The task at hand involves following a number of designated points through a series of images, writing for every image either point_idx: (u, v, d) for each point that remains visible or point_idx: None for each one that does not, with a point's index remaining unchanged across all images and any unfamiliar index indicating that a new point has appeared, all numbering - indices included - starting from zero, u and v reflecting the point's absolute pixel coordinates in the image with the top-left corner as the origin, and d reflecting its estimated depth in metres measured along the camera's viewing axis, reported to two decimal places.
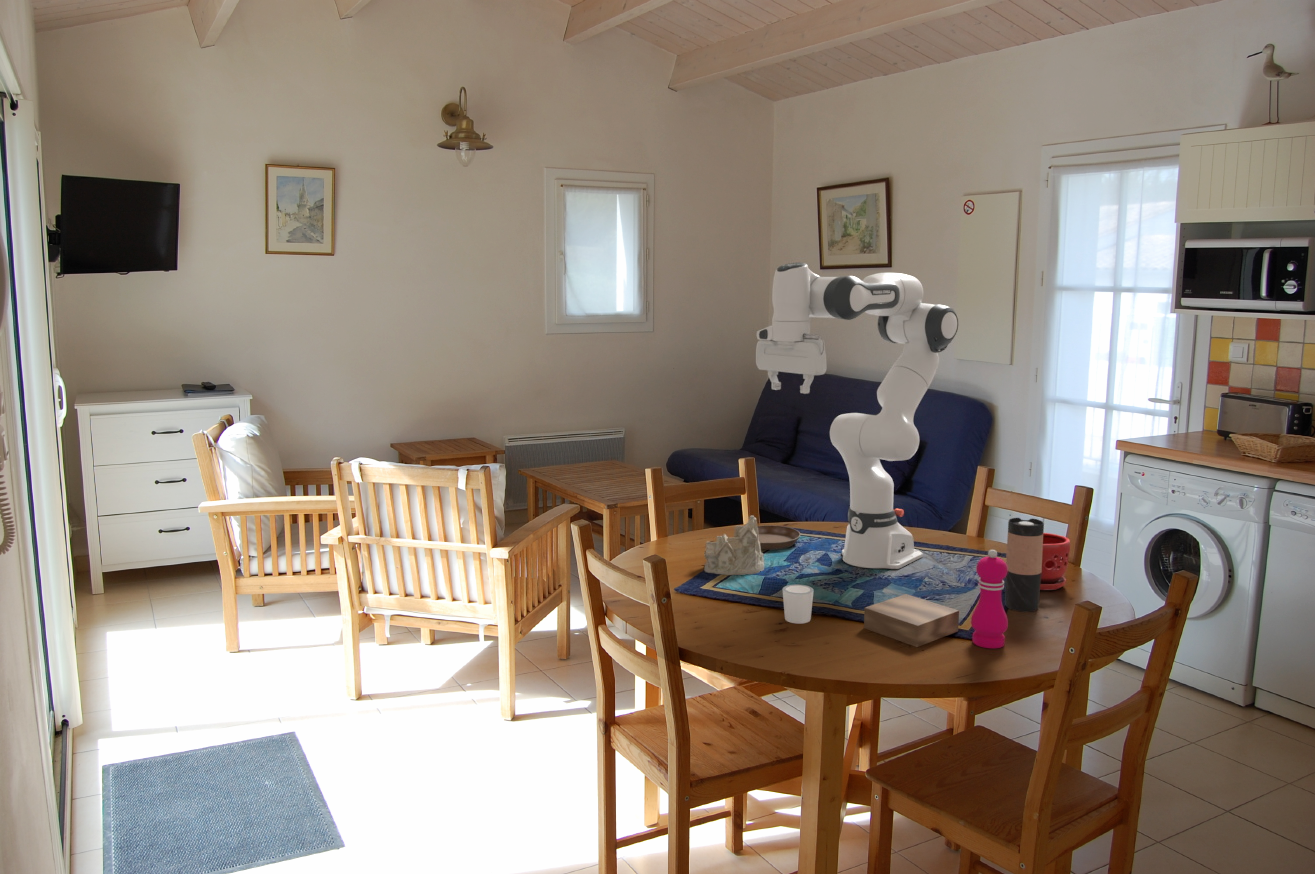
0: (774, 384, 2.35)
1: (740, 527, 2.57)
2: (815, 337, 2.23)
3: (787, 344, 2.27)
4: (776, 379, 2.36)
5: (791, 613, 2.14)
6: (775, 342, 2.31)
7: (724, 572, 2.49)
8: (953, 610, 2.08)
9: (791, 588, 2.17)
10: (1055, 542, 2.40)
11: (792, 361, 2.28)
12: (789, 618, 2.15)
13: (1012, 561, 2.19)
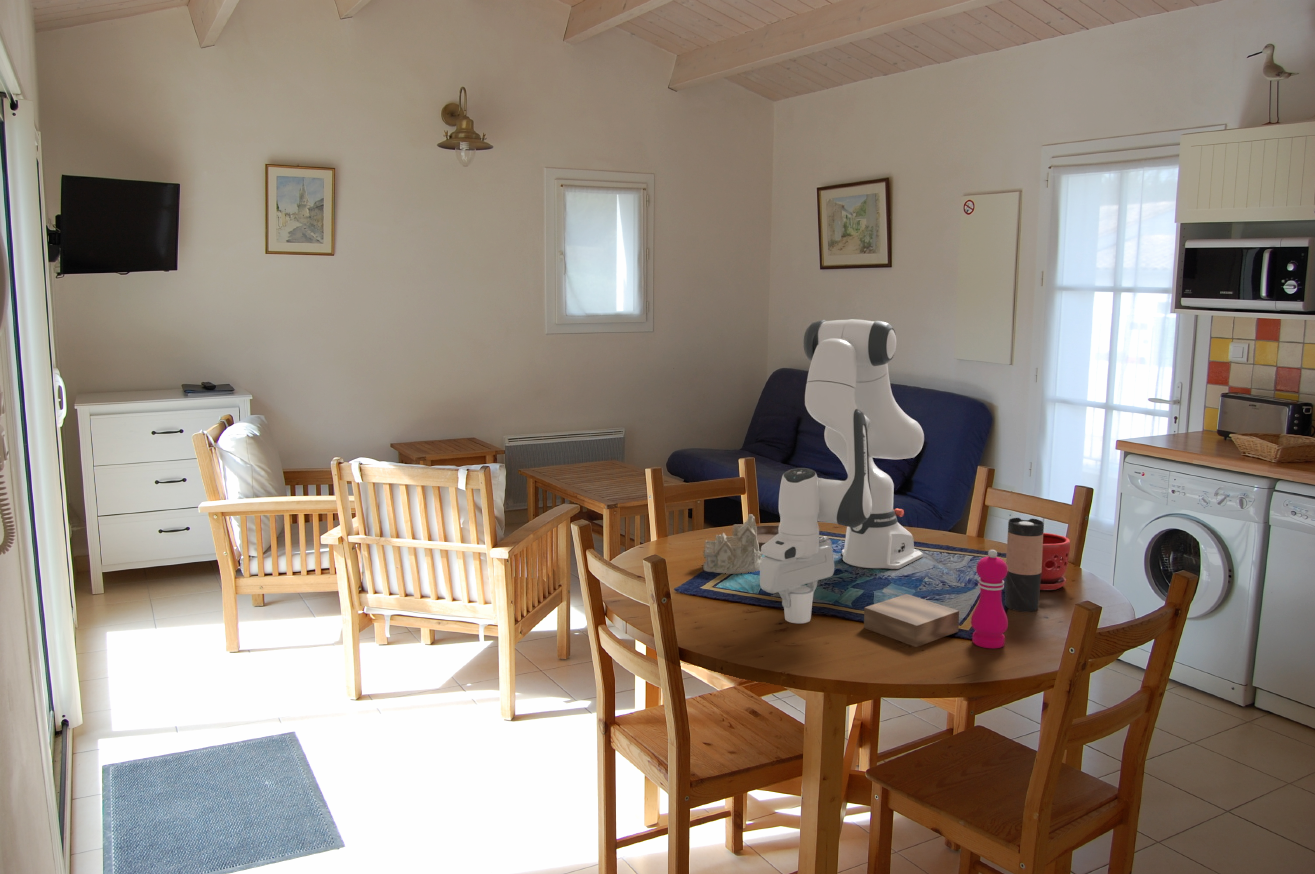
0: None
1: (738, 526, 2.58)
2: (826, 539, 2.19)
3: (812, 555, 2.13)
4: None
5: (791, 612, 2.14)
6: None
7: (724, 571, 2.50)
8: (953, 610, 2.08)
9: (791, 588, 2.17)
10: (1055, 542, 2.40)
11: (811, 570, 2.15)
12: (789, 618, 2.15)
13: (1012, 561, 2.19)
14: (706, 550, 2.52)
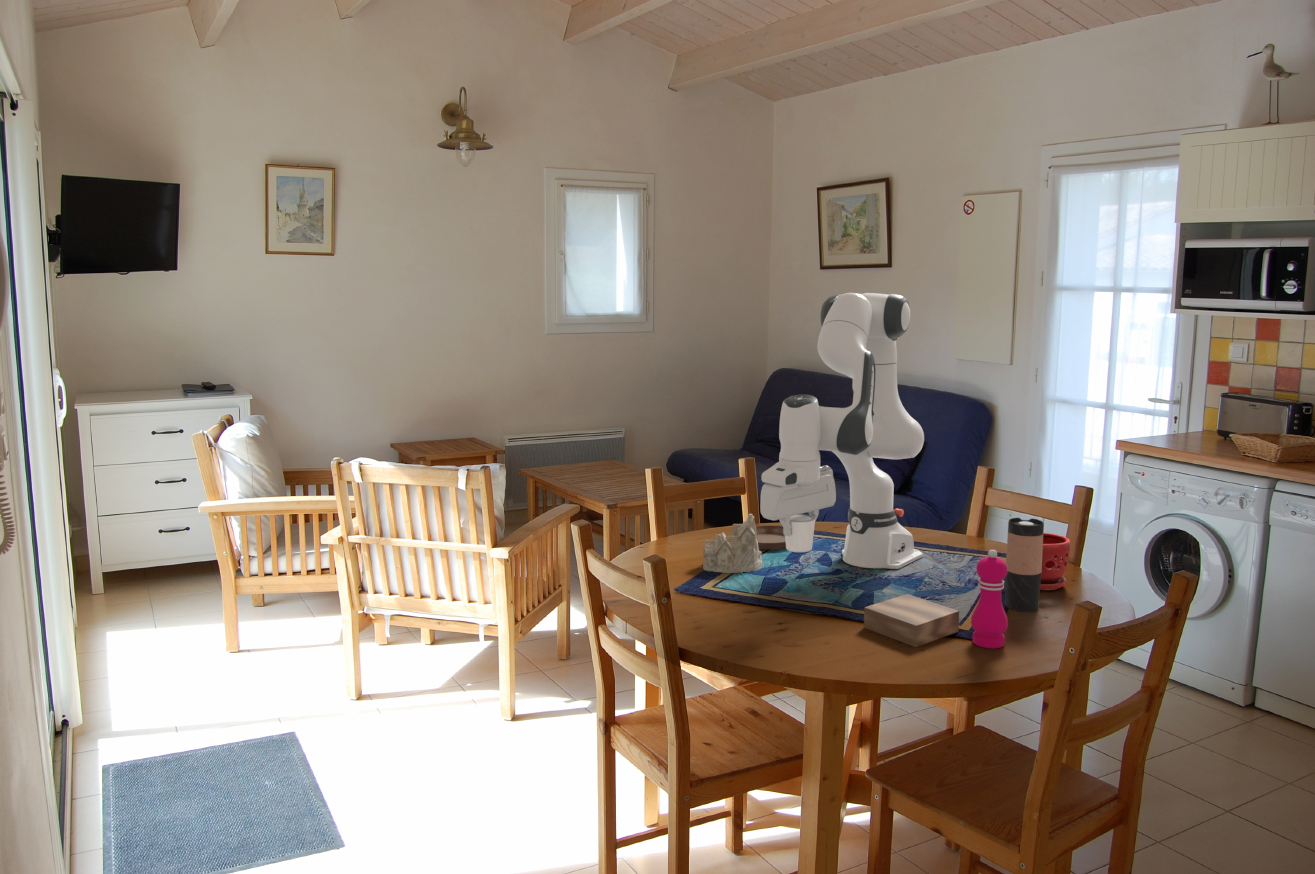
0: None
1: (738, 525, 2.58)
2: (827, 468, 2.16)
3: (813, 482, 2.11)
4: None
5: (793, 541, 2.12)
6: None
7: (724, 570, 2.50)
8: (953, 610, 2.08)
9: (792, 517, 2.14)
10: (1055, 542, 2.40)
11: (812, 498, 2.13)
12: (790, 547, 2.12)
13: (1012, 561, 2.19)
14: (706, 549, 2.52)
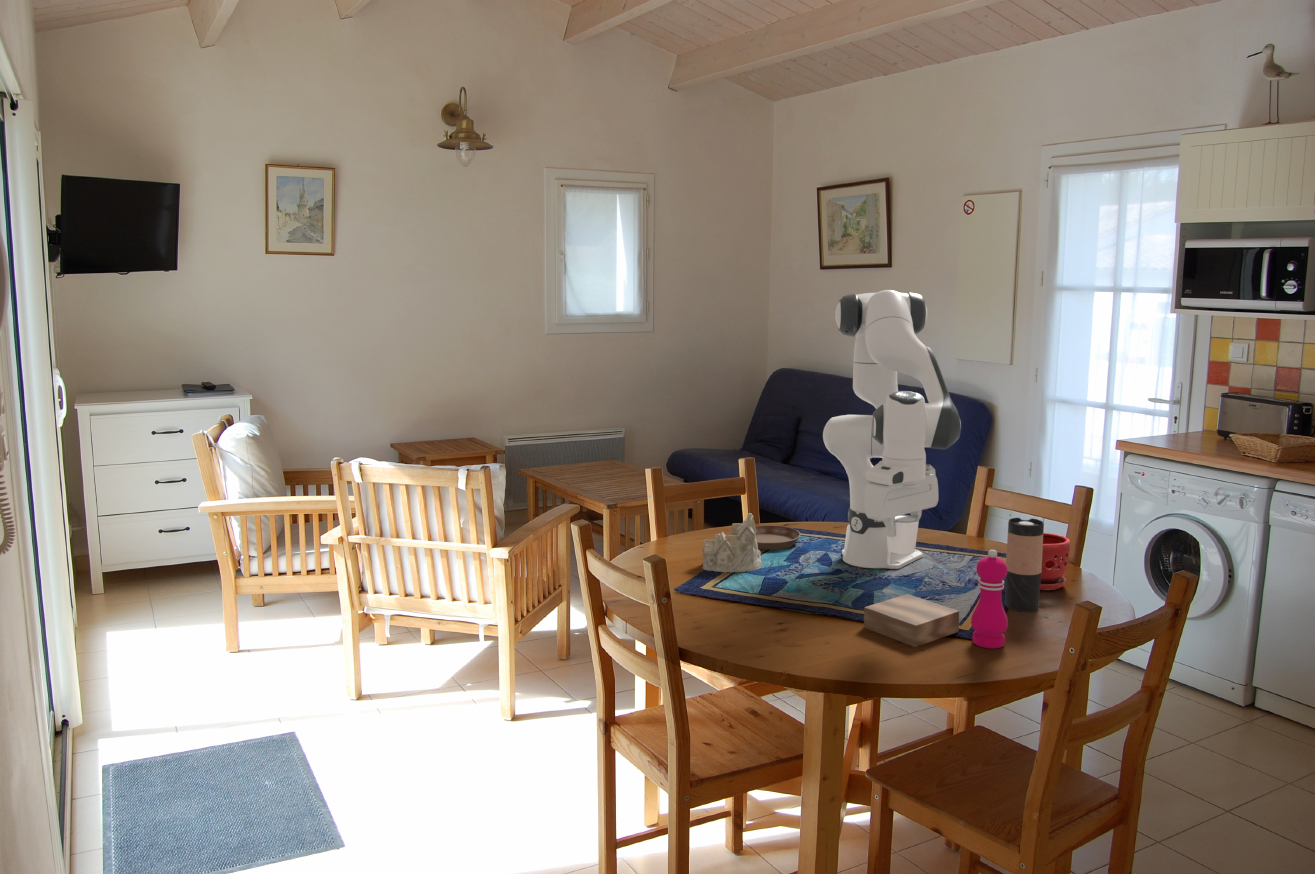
0: None
1: (737, 525, 2.59)
2: (930, 467, 2.09)
3: (918, 482, 2.04)
4: None
5: (896, 542, 2.05)
6: None
7: (723, 570, 2.51)
8: (953, 610, 2.08)
9: (895, 517, 2.07)
10: (1055, 542, 2.40)
11: (916, 499, 2.06)
12: (893, 548, 2.06)
13: (1012, 561, 2.19)
14: (705, 549, 2.53)
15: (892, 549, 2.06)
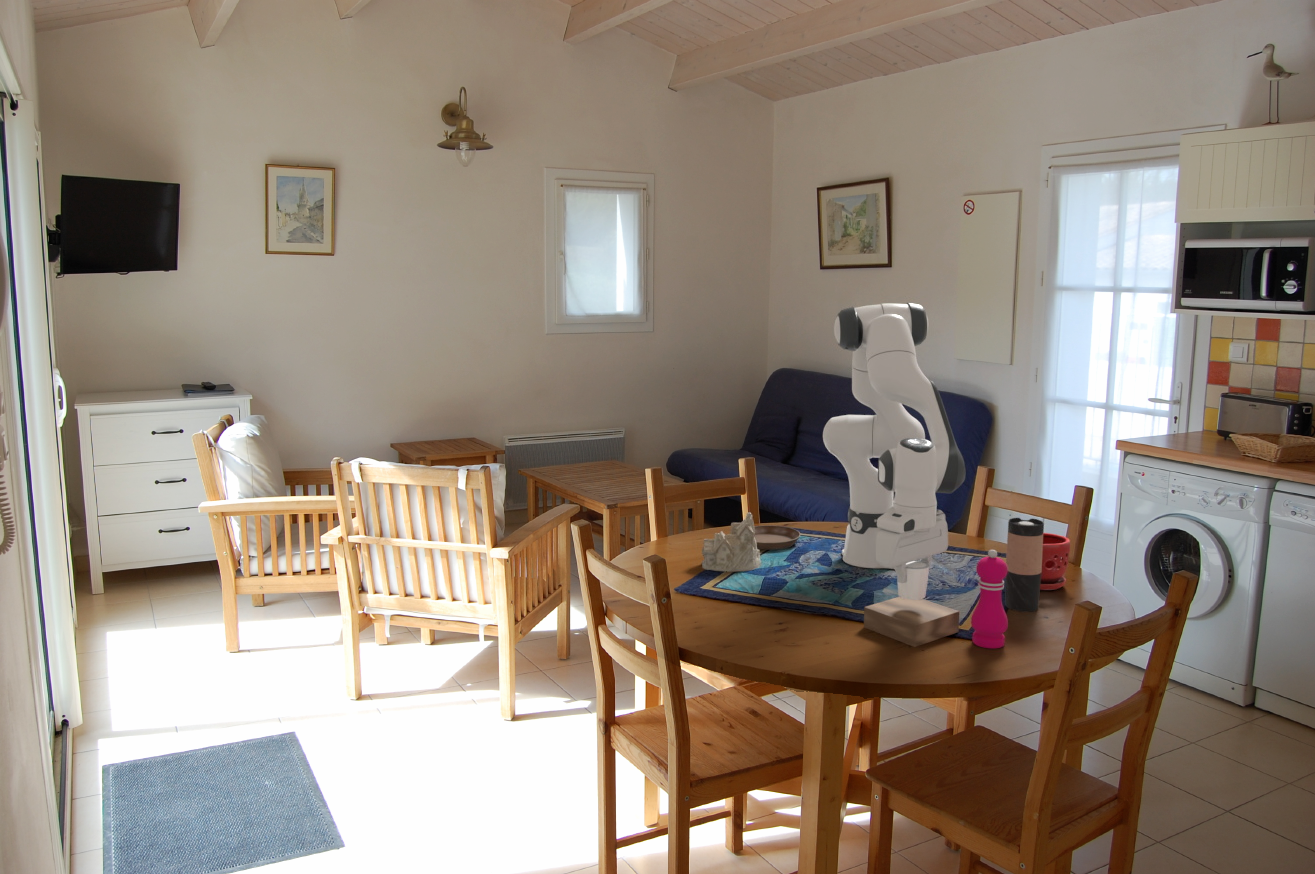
0: None
1: (736, 524, 2.60)
2: (940, 512, 2.10)
3: (929, 528, 2.05)
4: None
5: (907, 588, 2.06)
6: None
7: (723, 569, 2.52)
8: (953, 611, 2.08)
9: None
10: (1055, 542, 2.40)
11: (927, 544, 2.07)
12: (904, 594, 2.07)
13: (1012, 561, 2.19)
14: (705, 548, 2.53)
15: (903, 595, 2.07)
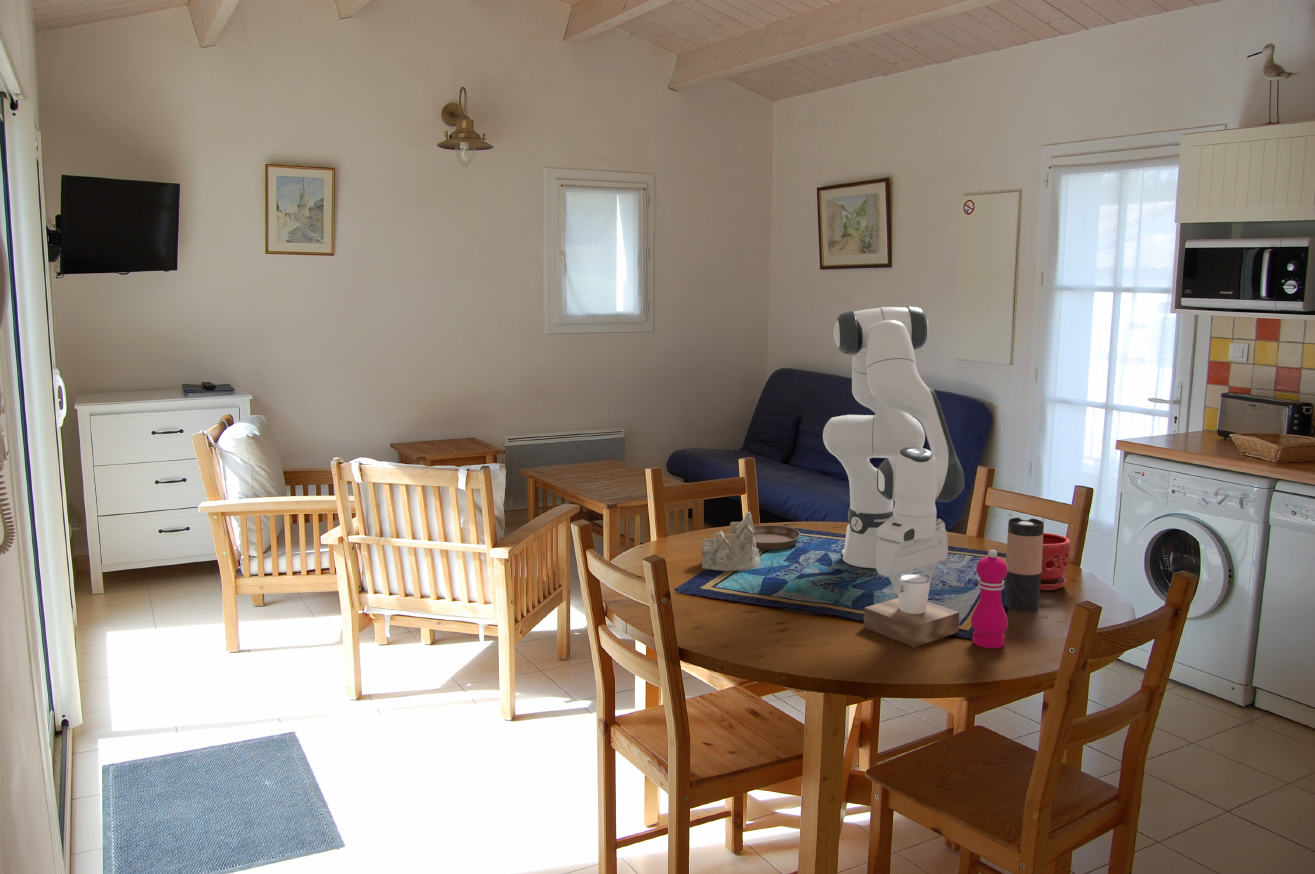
0: (902, 587, 2.05)
1: (736, 523, 2.60)
2: (940, 521, 2.11)
3: (929, 537, 2.05)
4: None
5: (908, 602, 2.06)
6: None
7: (722, 568, 2.52)
8: (953, 611, 2.08)
9: (906, 577, 2.09)
10: (1055, 542, 2.40)
11: (927, 554, 2.07)
12: (905, 608, 2.07)
13: (1012, 561, 2.19)
14: (704, 548, 2.54)
15: (903, 609, 2.08)
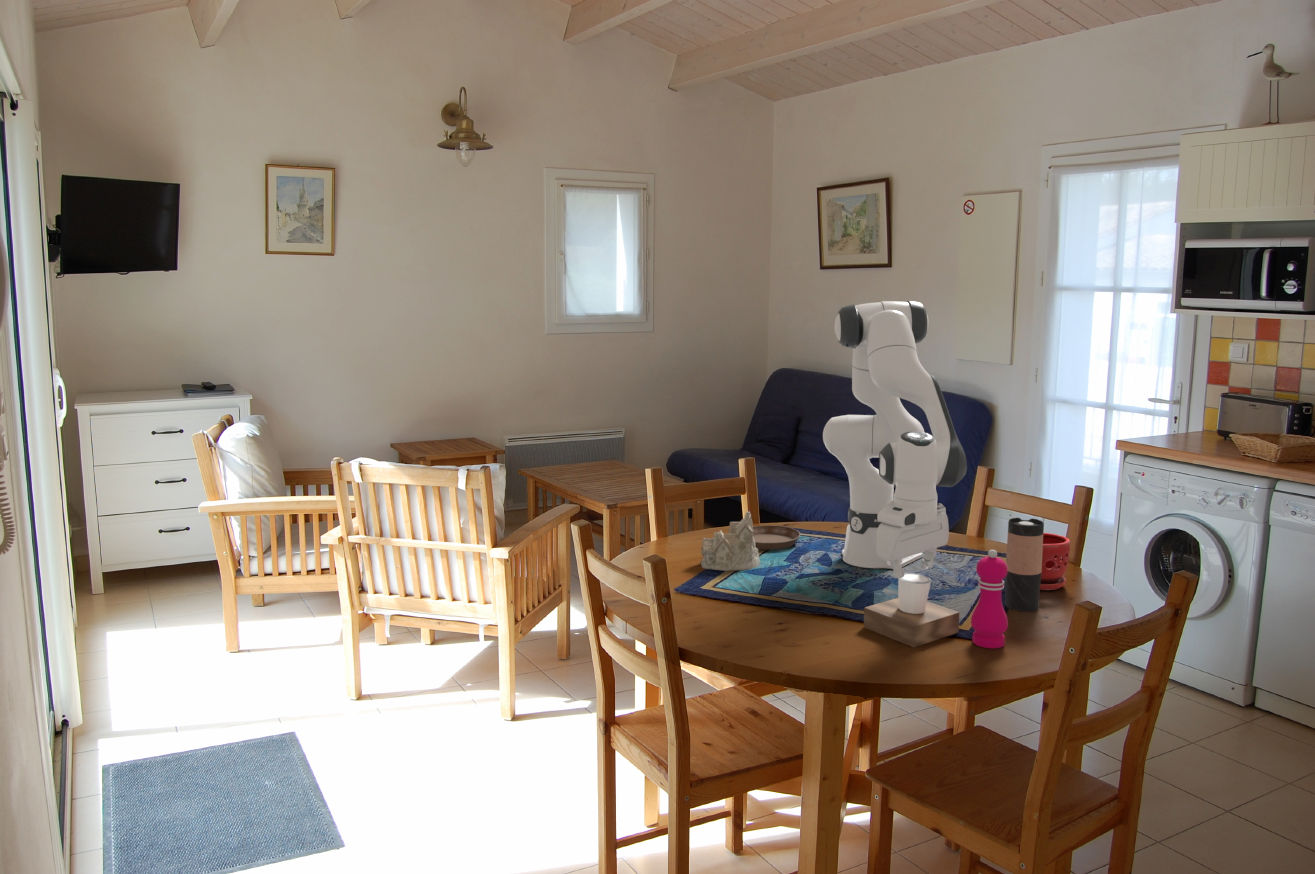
0: (903, 571, 2.04)
1: (735, 523, 2.61)
2: (941, 506, 2.10)
3: (929, 522, 2.05)
4: None
5: (909, 602, 2.06)
6: None
7: (722, 568, 2.53)
8: (953, 612, 2.07)
9: (907, 577, 2.08)
10: (1055, 542, 2.40)
11: (927, 538, 2.07)
12: (905, 608, 2.07)
13: (1012, 561, 2.19)
14: (704, 547, 2.54)
15: (904, 608, 2.07)
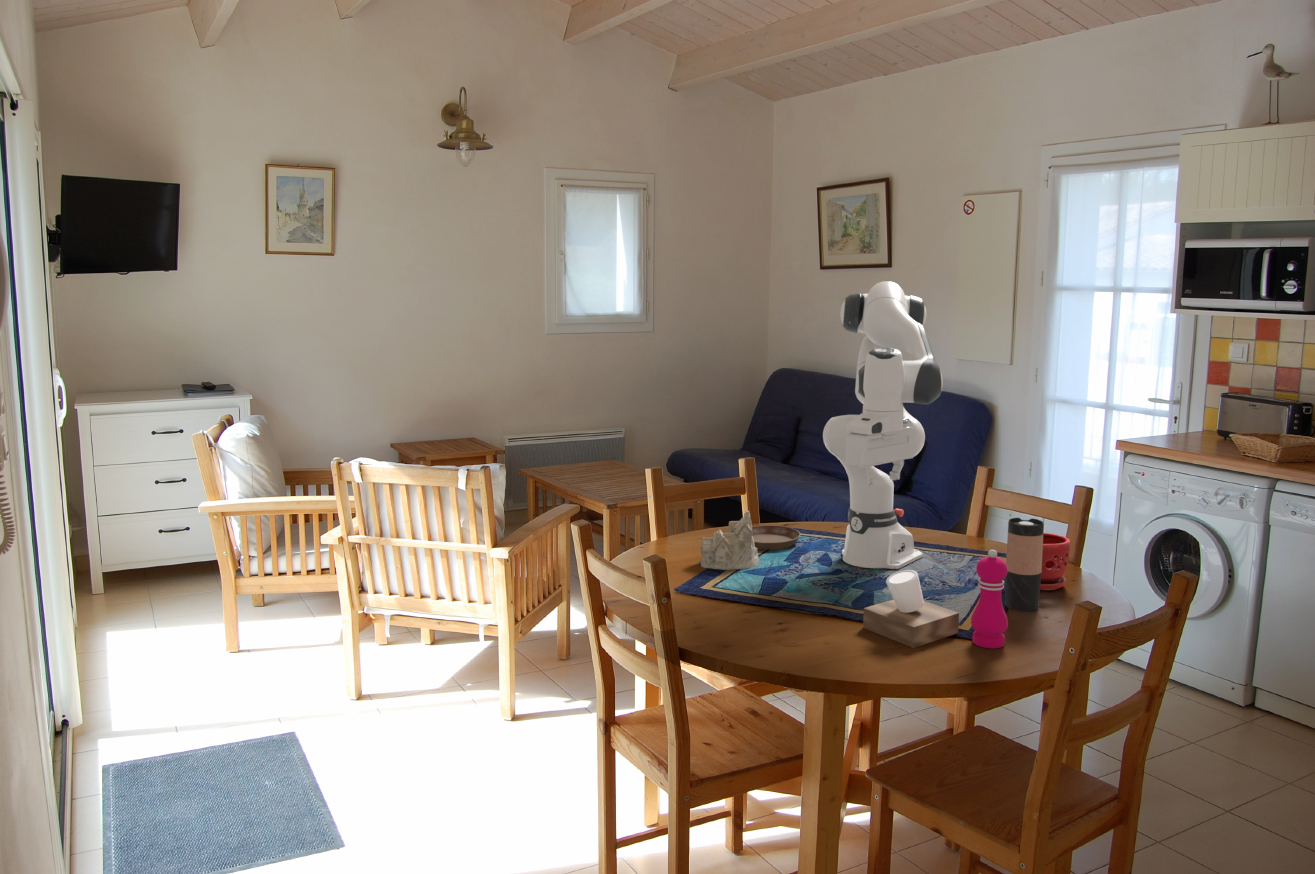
0: (871, 480, 2.16)
1: (734, 522, 2.61)
2: (908, 420, 2.22)
3: (896, 433, 2.16)
4: None
5: (914, 600, 2.05)
6: None
7: (722, 567, 2.53)
8: (953, 612, 2.07)
9: (895, 580, 2.07)
10: (1055, 542, 2.40)
11: (895, 449, 2.18)
12: (913, 607, 2.06)
13: (1012, 561, 2.19)
14: (704, 547, 2.55)
15: (912, 609, 2.06)
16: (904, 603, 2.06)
